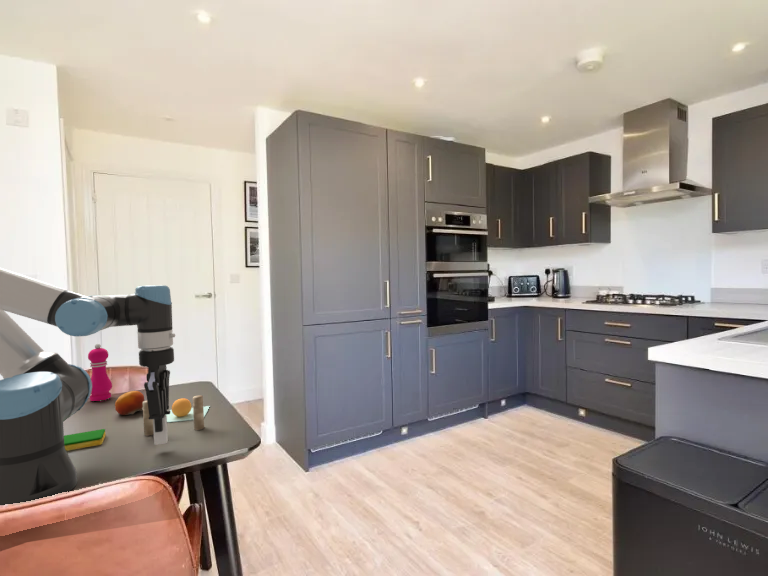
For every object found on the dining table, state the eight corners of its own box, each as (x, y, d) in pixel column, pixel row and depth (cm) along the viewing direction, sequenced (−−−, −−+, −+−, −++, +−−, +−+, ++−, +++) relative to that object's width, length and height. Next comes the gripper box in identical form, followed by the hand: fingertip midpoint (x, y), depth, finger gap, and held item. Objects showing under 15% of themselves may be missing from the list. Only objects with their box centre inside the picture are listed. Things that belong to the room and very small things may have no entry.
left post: (142, 436, 111) (141, 403, 111) (146, 432, 113) (144, 400, 113) (153, 435, 112) (151, 402, 111) (156, 431, 114) (154, 399, 114)
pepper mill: (116, 398, 148) (113, 342, 147) (94, 403, 142) (90, 346, 141) (107, 395, 152) (104, 341, 151) (84, 400, 145) (81, 344, 145)
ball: (173, 402, 128) (174, 420, 126) (169, 398, 124) (170, 416, 122) (192, 398, 130) (193, 416, 128) (189, 394, 126) (190, 412, 123)
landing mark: (159, 423, 120) (159, 422, 120) (170, 410, 132) (170, 409, 132) (203, 418, 123) (203, 418, 123) (210, 406, 135) (210, 405, 135)
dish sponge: (41, 448, 106) (41, 438, 106) (105, 437, 113) (105, 428, 113) (33, 458, 100) (33, 449, 100) (101, 446, 106) (101, 437, 106)
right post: (193, 430, 114) (191, 398, 114) (195, 427, 116) (193, 395, 116) (203, 429, 115) (201, 397, 114) (205, 426, 117) (203, 395, 117)
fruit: (136, 413, 126) (123, 390, 126) (118, 425, 127) (105, 403, 128) (155, 404, 134) (143, 383, 134) (138, 416, 135) (126, 395, 136)
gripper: (165, 351, 95) (170, 451, 96) (179, 342, 108) (183, 431, 109) (129, 354, 93) (135, 456, 94) (147, 344, 106) (152, 434, 107)
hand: (161, 442), depth 101 cm, fingers closed
